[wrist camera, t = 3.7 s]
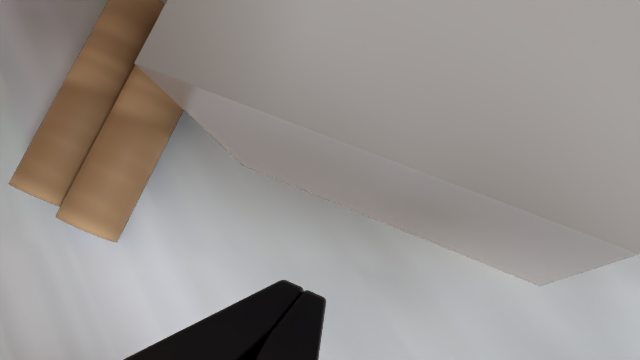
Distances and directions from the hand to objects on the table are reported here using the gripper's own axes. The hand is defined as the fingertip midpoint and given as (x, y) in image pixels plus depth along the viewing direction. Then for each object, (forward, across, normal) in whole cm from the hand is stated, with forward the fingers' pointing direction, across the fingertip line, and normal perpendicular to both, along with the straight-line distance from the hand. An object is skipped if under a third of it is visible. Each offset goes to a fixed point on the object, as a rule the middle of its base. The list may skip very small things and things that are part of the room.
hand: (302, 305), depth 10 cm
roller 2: (+10, +11, +6) cm, 16 cm away
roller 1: (+10, +13, +5) cm, 18 cm away
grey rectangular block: (+8, 0, 0) cm, 8 cm away
